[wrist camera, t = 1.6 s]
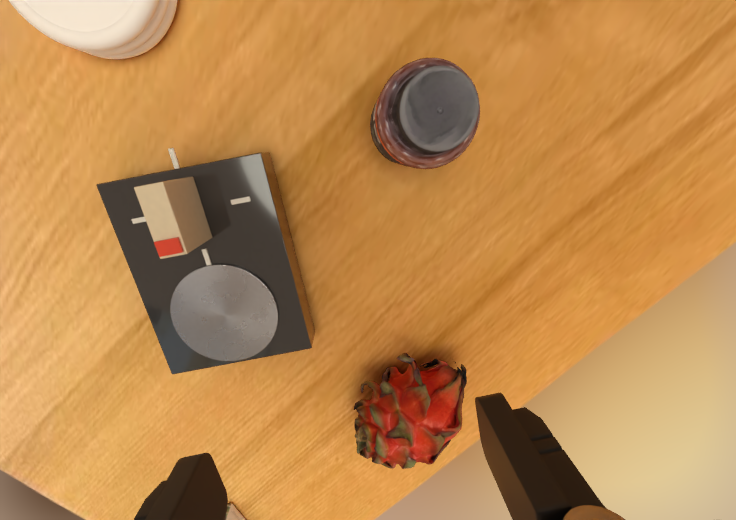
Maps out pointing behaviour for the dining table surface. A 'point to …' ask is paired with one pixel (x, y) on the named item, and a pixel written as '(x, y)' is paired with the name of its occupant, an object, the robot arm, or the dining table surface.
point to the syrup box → (233, 513)
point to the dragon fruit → (410, 414)
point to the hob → (216, 249)
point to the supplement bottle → (425, 114)
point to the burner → (224, 312)
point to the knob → (174, 216)
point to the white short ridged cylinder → (101, 24)
